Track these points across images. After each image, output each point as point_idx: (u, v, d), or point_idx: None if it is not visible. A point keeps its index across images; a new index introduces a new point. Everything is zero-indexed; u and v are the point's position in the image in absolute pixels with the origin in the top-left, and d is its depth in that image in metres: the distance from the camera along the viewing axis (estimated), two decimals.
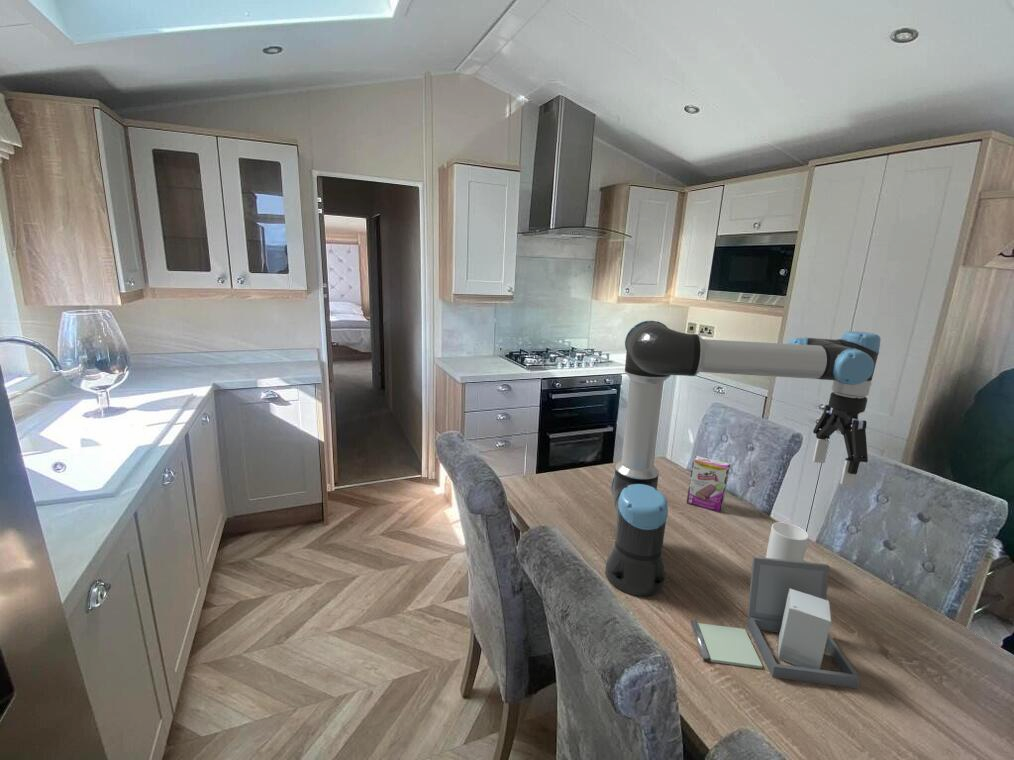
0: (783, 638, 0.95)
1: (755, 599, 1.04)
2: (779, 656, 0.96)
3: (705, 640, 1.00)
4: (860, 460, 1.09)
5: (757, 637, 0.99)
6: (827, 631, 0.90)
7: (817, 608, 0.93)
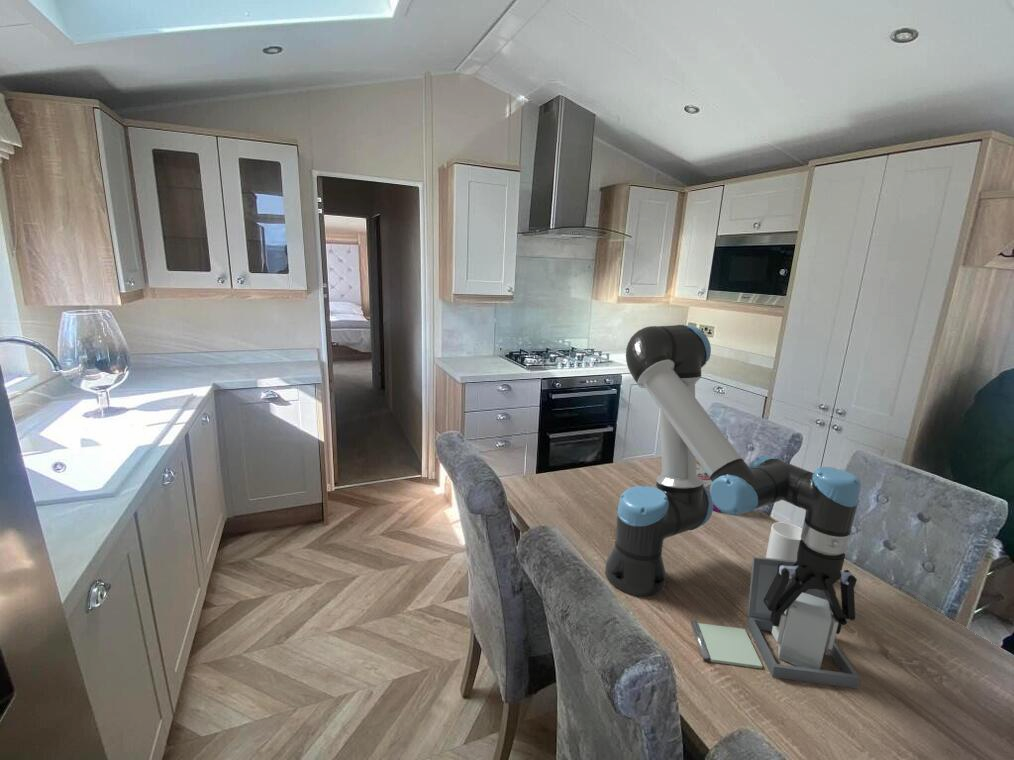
0: (783, 638, 0.95)
1: (755, 599, 1.04)
2: (779, 656, 0.96)
3: (705, 640, 1.00)
4: (765, 604, 0.96)
5: (757, 637, 0.99)
6: (827, 631, 0.90)
7: (817, 608, 0.93)
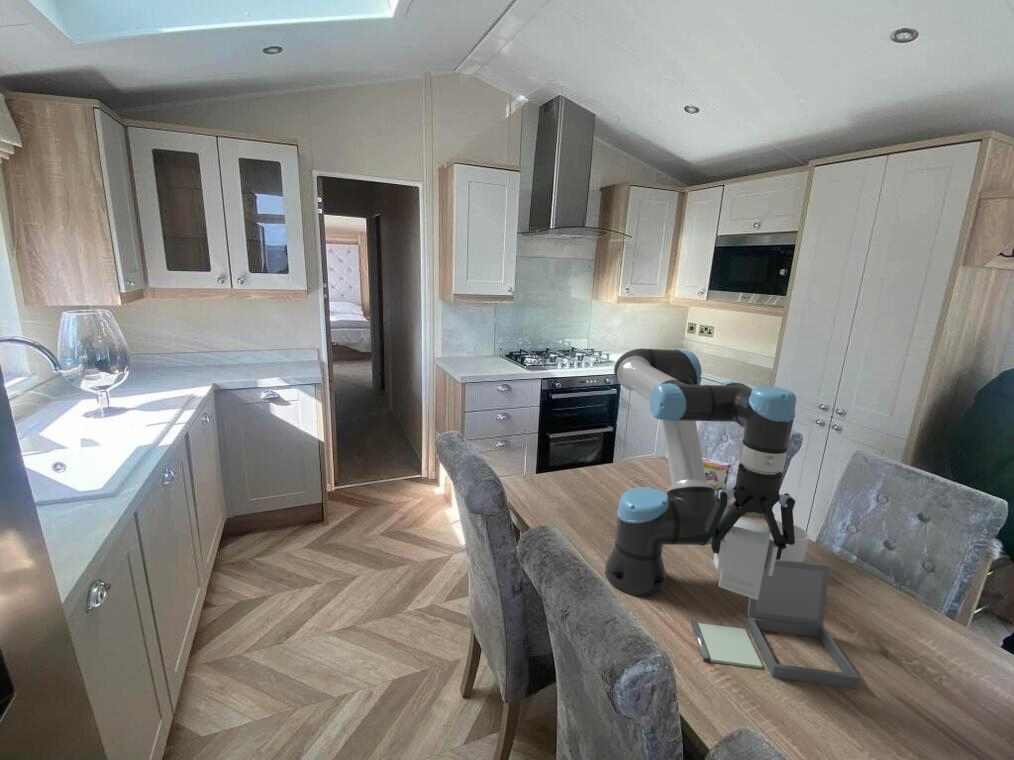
0: (723, 565, 0.93)
1: (755, 599, 1.04)
2: (720, 584, 0.94)
3: (705, 640, 1.00)
4: (705, 530, 0.94)
5: (757, 637, 0.99)
6: (765, 554, 0.88)
7: (757, 533, 0.91)
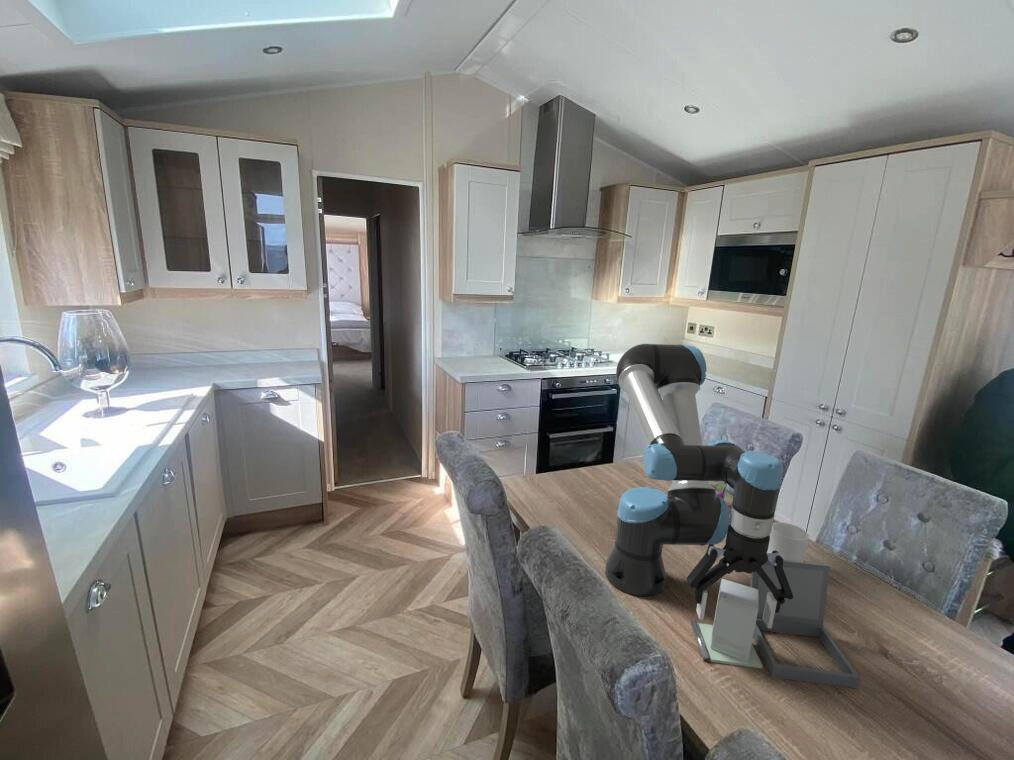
0: (714, 628, 0.96)
1: None
2: (711, 646, 0.97)
3: (705, 640, 1.00)
4: (688, 581, 0.97)
5: (757, 637, 0.99)
6: (755, 619, 0.92)
7: (746, 597, 0.95)
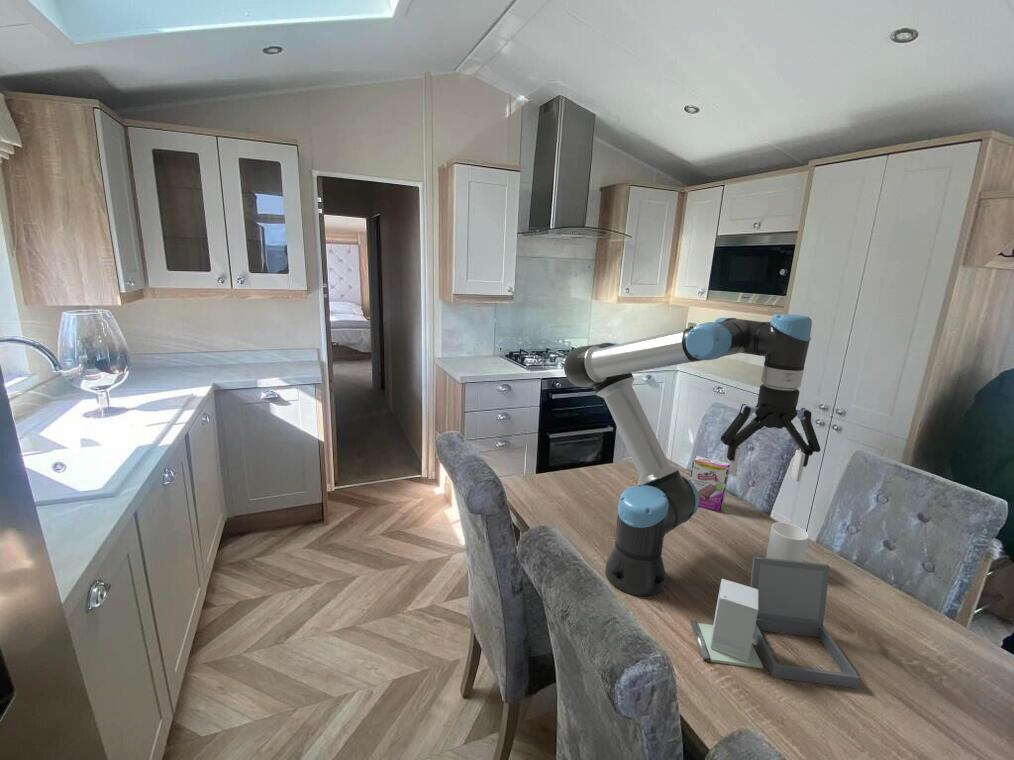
0: (714, 628, 0.96)
1: None
2: (711, 646, 0.97)
3: (705, 640, 1.00)
4: (722, 440, 1.05)
5: (757, 637, 0.99)
6: (755, 619, 0.92)
7: (746, 597, 0.95)
